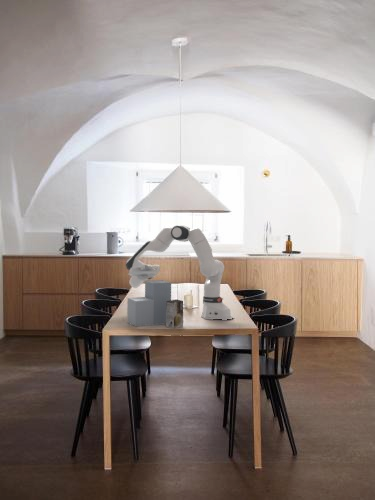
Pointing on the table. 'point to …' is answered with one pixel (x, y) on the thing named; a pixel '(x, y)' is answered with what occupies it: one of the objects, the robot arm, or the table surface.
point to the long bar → (153, 267)
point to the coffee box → (174, 314)
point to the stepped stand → (150, 304)
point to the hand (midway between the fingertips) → (148, 266)
